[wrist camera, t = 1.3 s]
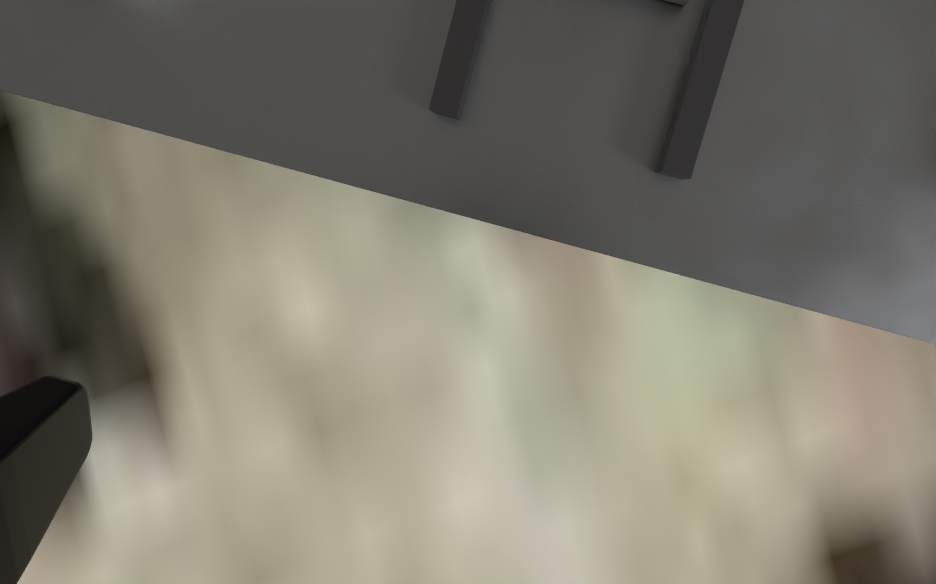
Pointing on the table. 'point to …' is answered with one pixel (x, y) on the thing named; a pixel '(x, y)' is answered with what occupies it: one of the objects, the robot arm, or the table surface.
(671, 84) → the breaker panel
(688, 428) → the table surface
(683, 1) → the breaker handle
